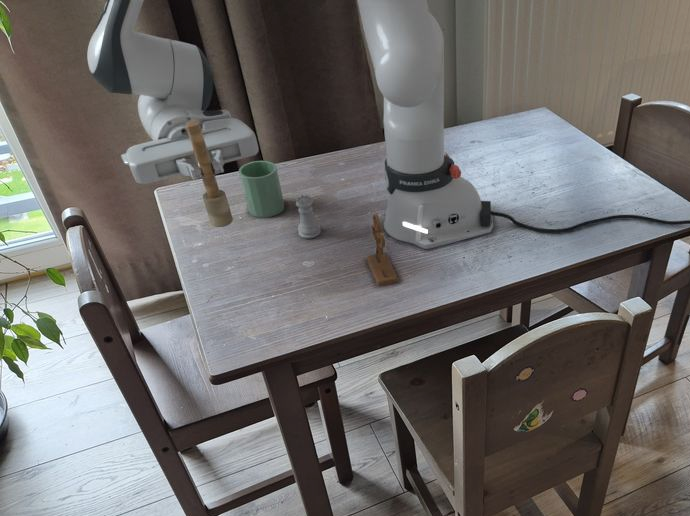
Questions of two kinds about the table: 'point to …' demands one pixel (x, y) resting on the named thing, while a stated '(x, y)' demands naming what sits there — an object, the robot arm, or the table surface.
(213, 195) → the bottle brush
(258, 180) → the green pen holder
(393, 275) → the wooden figure on stand
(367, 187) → the table surface
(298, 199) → the rook chess piece
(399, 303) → the table surface
